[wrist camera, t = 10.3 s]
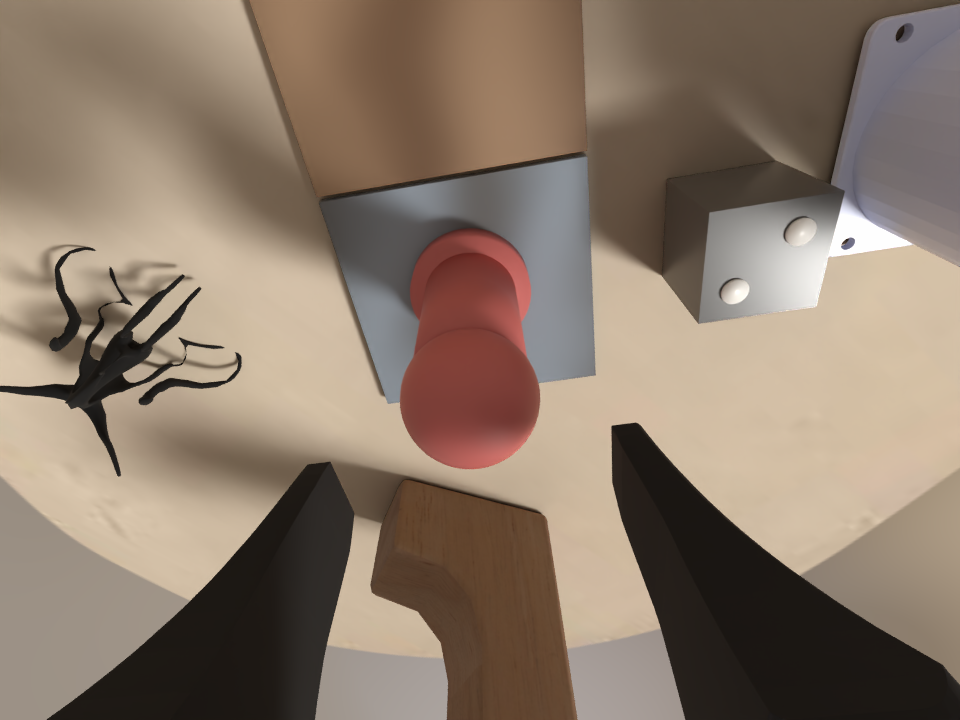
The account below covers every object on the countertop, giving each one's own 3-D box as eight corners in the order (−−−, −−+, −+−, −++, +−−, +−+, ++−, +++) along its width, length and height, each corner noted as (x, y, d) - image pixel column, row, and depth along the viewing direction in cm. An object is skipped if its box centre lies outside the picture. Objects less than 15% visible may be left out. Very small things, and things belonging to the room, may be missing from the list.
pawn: (522, 218, 19) (557, 355, 11) (534, 326, 22) (570, 498, 14) (399, 238, 19) (350, 385, 11) (426, 341, 22) (401, 518, 14)
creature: (118, 201, 20) (4, 333, 21) (35, 225, 15) (-104, 393, 16) (279, 327, 23) (172, 434, 25) (253, 380, 19) (123, 509, 20)
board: (524, -1371, 7) (527, -1439, 6) (593, 370, 23) (595, 375, 23) (-121, -1102, 8) (-148, -1153, 7) (388, 398, 24) (387, 403, 24)
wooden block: (380, 523, 30) (287, 1030, 15) (402, 474, 27) (319, 1017, 12) (517, 555, 32) (558, 1031, 17) (548, 513, 29) (629, 1020, 14)
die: (776, 160, 18) (846, 191, 15) (760, 261, 20) (817, 307, 17) (666, 179, 18) (710, 213, 15) (662, 276, 21) (699, 325, 17)
